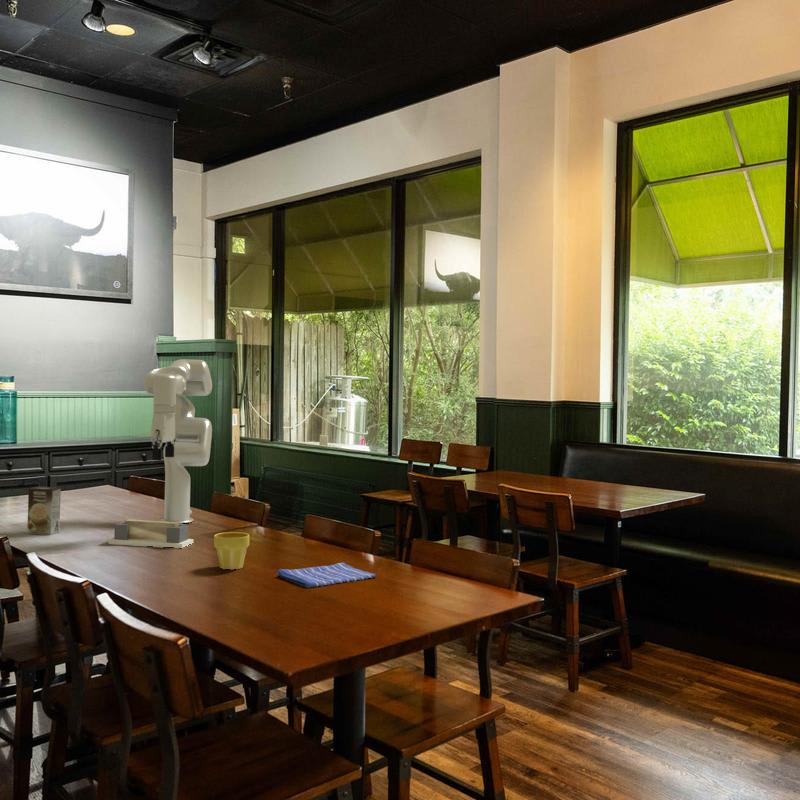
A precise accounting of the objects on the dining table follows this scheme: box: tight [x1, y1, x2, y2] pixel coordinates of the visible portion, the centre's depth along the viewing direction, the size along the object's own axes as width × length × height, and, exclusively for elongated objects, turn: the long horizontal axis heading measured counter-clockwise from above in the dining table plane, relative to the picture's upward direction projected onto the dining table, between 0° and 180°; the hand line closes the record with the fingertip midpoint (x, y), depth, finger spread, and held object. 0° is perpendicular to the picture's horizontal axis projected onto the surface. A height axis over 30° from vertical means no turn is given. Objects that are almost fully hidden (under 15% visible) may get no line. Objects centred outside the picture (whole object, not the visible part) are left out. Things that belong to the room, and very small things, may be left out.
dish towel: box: [276, 562, 377, 589], centre depth 231 cm, size 17×24×3 cm
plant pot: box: [213, 531, 250, 571], centre depth 239 cm, size 10×10×10 cm
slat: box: [124, 519, 179, 541], centre depth 271 cm, size 2×18×6 cm, turn 81°
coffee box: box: [26, 485, 62, 536], centre depth 284 cm, size 9×6×16 cm
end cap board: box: [108, 520, 194, 549], centre depth 271 cm, size 9×26×6 cm, turn 81°
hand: (163, 458), depth 282 cm, fingers open, 9 cm apart
